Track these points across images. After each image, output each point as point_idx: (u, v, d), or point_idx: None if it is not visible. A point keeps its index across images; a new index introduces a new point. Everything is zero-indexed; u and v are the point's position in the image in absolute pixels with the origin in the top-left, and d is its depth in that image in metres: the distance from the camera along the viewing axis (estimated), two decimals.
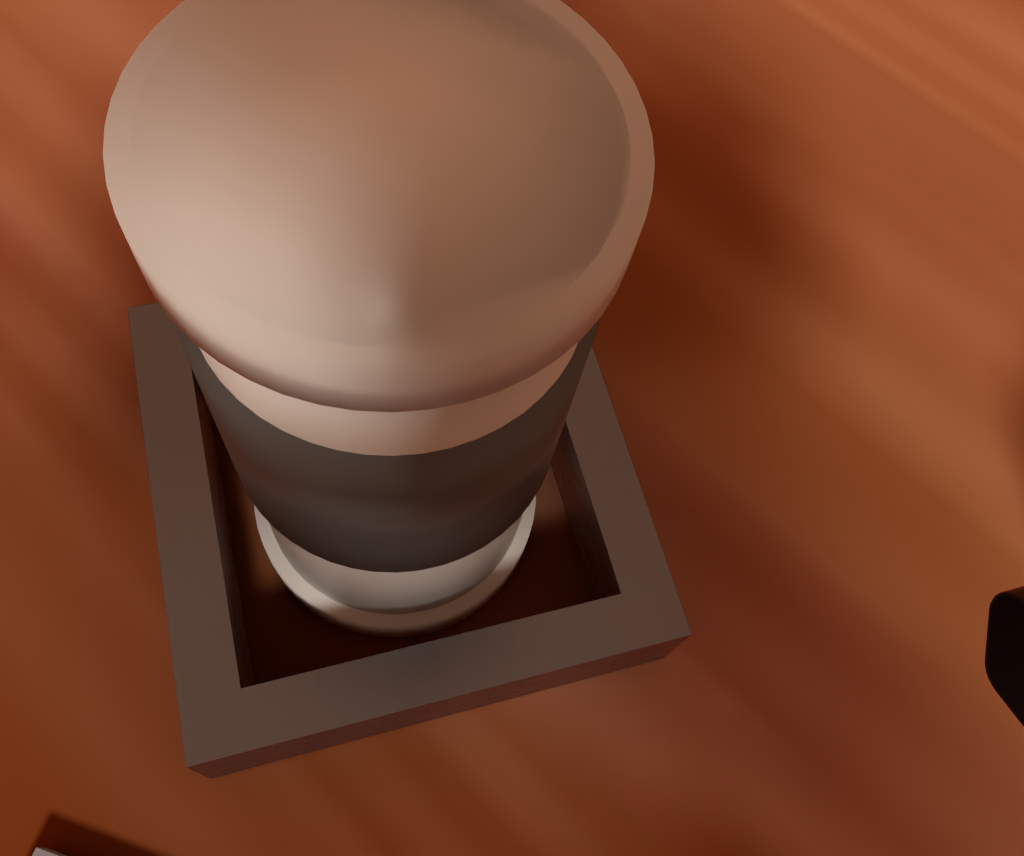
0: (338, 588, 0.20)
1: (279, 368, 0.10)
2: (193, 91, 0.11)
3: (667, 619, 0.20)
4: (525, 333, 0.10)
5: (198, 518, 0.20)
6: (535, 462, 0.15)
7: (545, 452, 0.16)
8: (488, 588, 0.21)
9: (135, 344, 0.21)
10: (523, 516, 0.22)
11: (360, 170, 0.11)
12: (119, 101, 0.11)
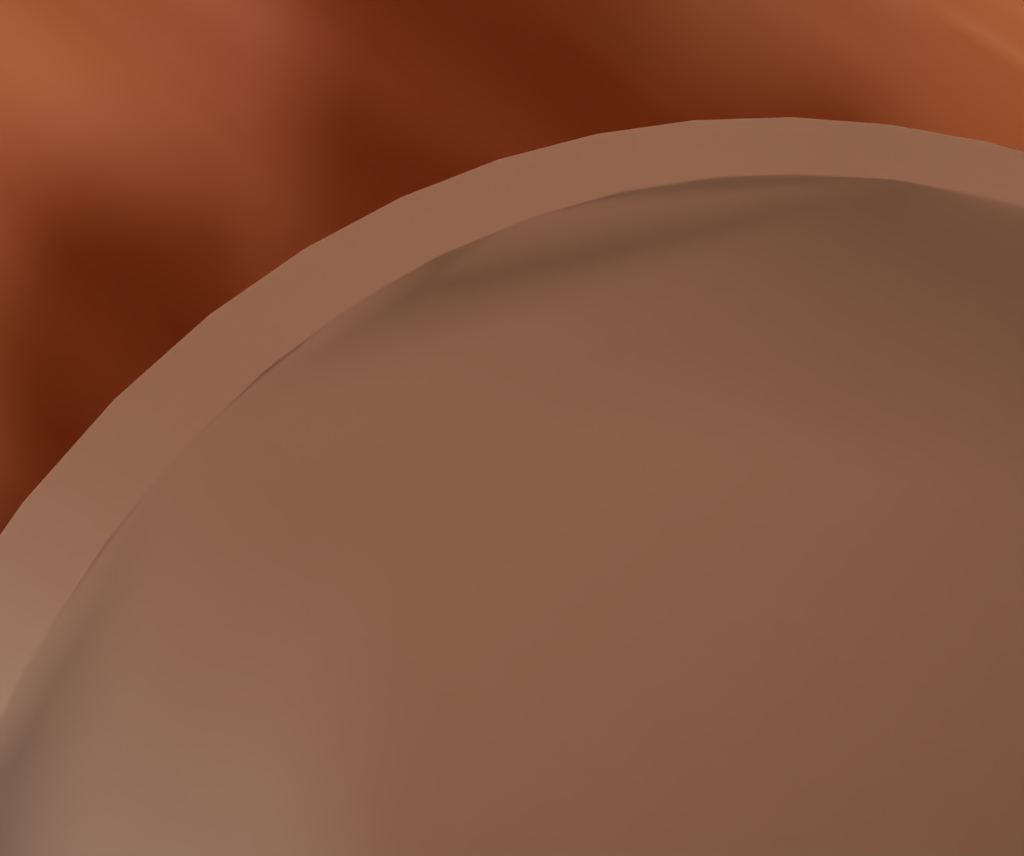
0: None
1: None
2: None
3: None
4: None
5: None
6: None
7: None
8: None
9: None
10: None
11: None
12: None
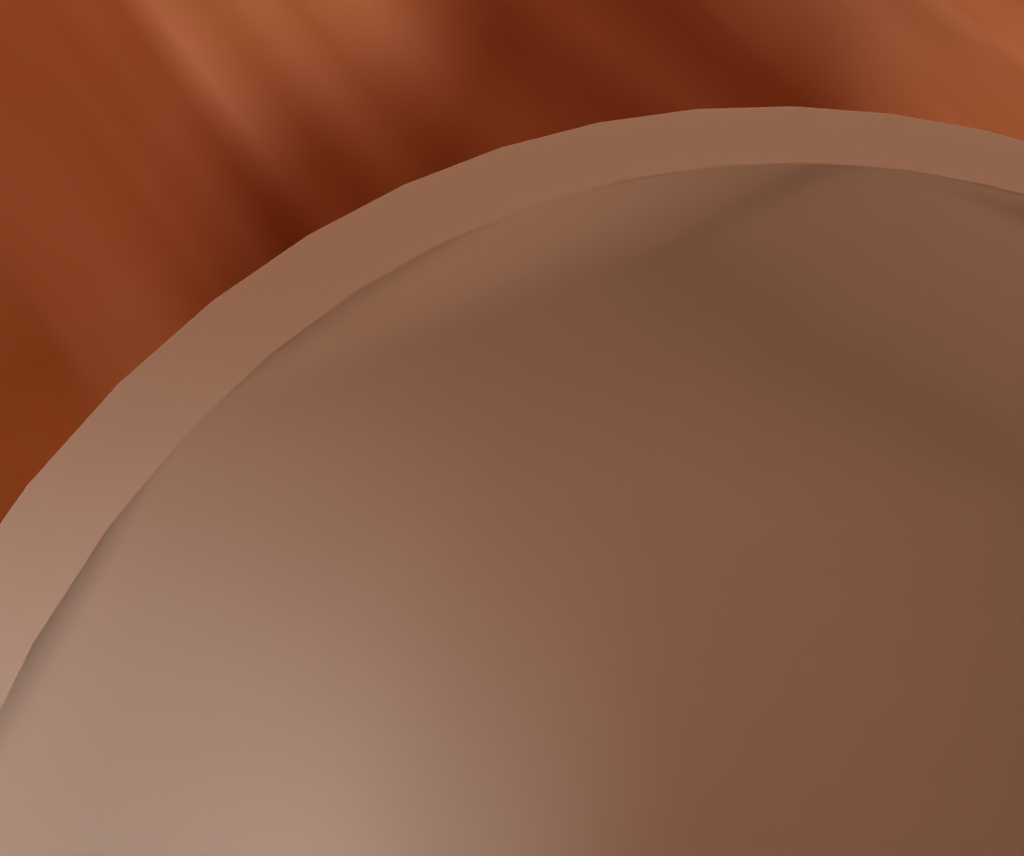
0: None
1: None
2: (171, 844, 0.03)
3: None
4: None
5: None
6: None
7: None
8: None
9: None
10: None
11: None
12: None
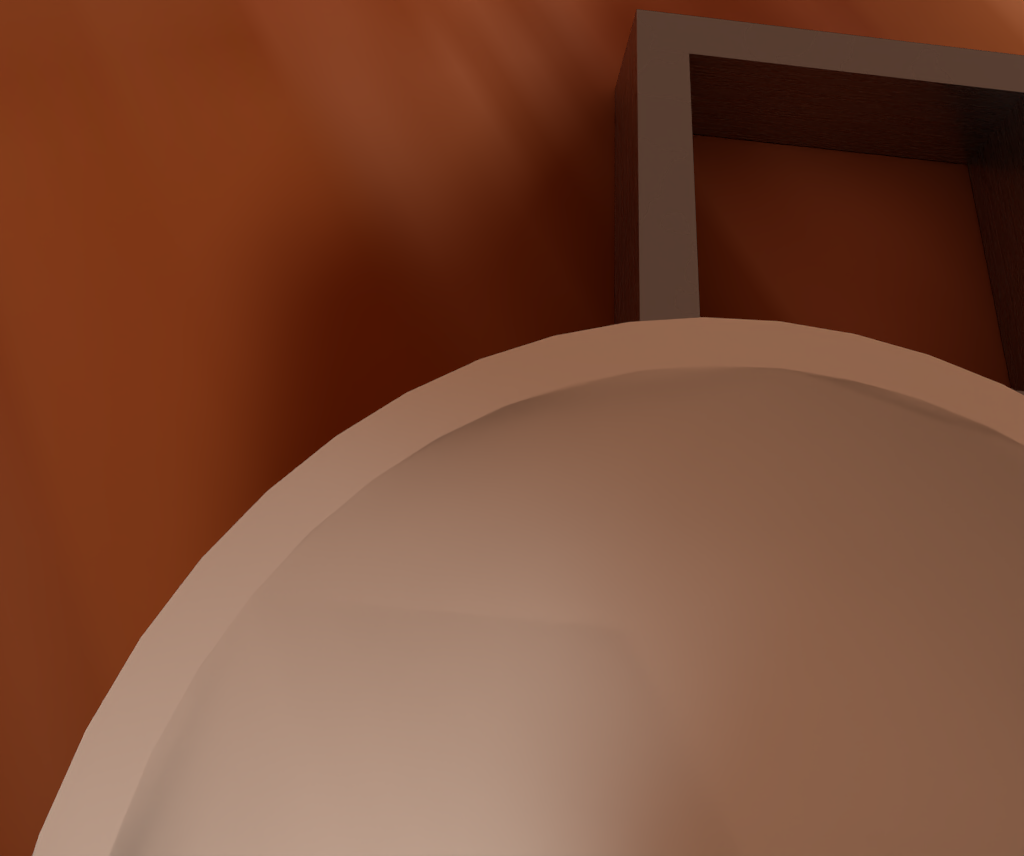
0: None
1: None
2: None
3: None
4: None
5: (680, 203, 0.20)
6: None
7: None
8: None
9: (640, 41, 0.21)
10: None
11: None
12: None
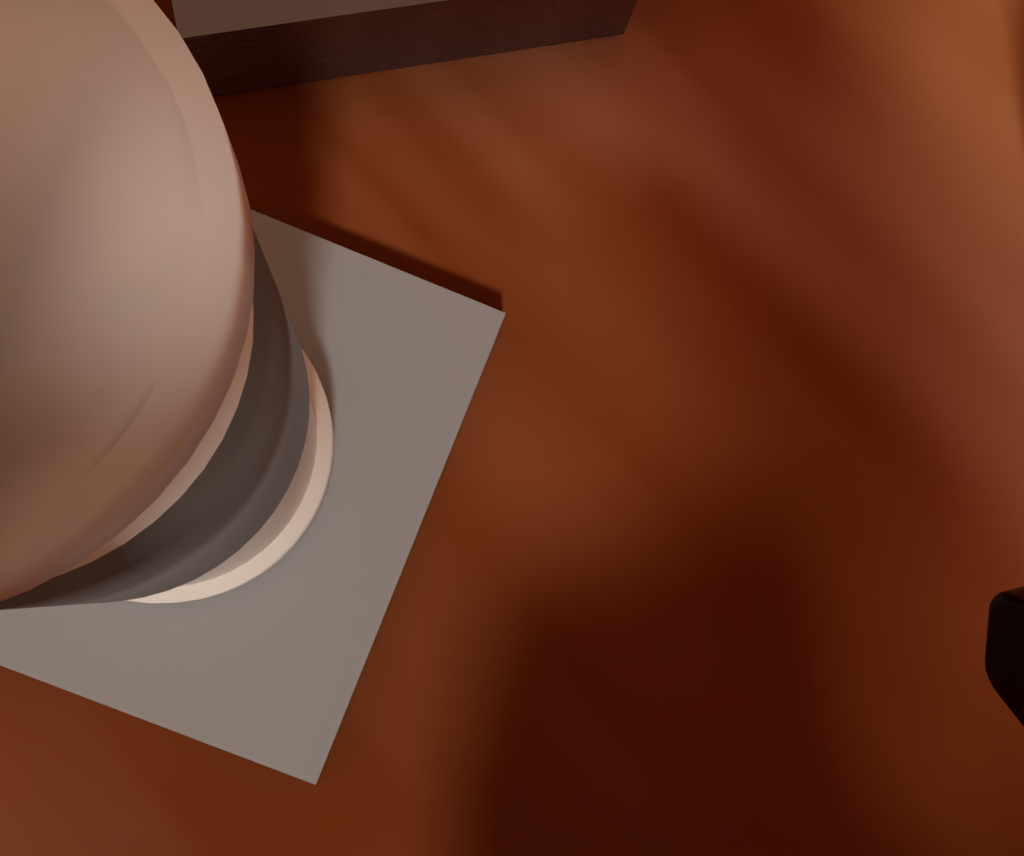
0: None
1: None
2: None
3: None
4: (104, 492, 0.08)
5: None
6: (265, 467, 0.13)
7: (275, 449, 0.13)
8: (301, 522, 0.19)
9: None
10: (319, 430, 0.20)
11: None
12: None
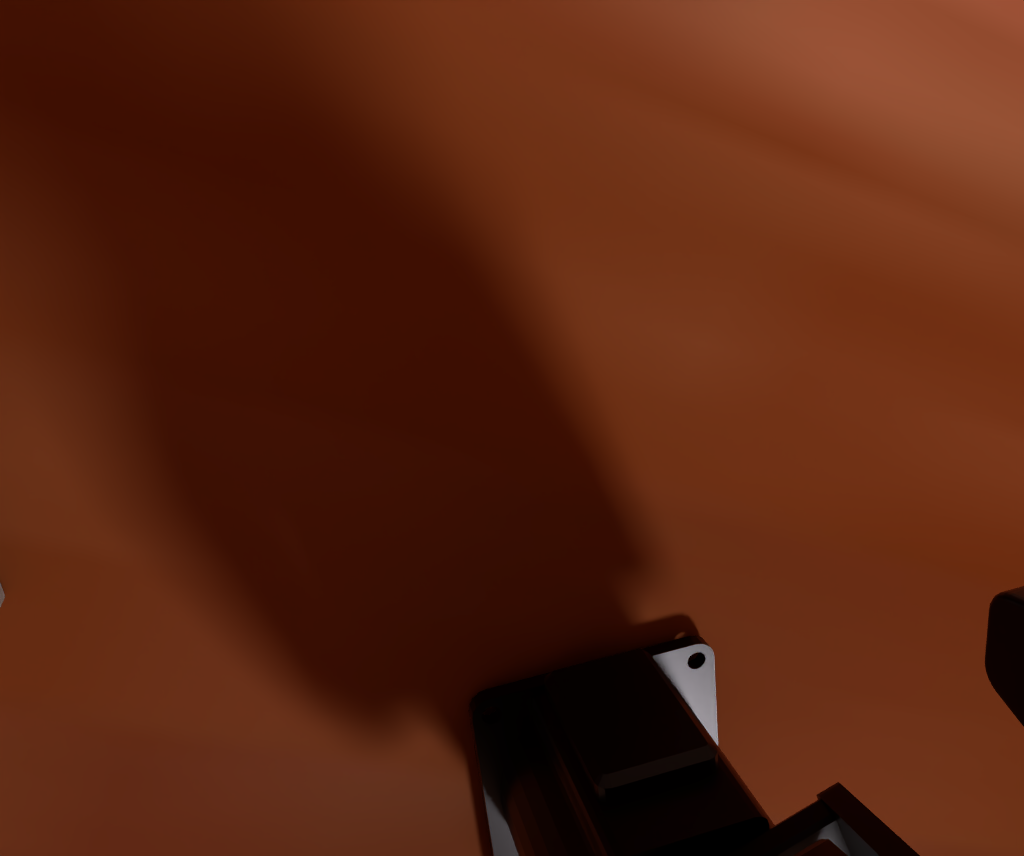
0: None
1: None
2: None
3: None
4: None
5: None
6: None
7: None
8: None
9: None
10: None
11: None
12: None
